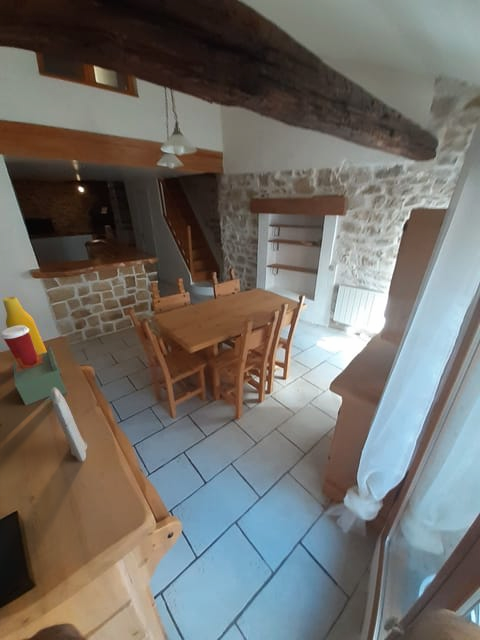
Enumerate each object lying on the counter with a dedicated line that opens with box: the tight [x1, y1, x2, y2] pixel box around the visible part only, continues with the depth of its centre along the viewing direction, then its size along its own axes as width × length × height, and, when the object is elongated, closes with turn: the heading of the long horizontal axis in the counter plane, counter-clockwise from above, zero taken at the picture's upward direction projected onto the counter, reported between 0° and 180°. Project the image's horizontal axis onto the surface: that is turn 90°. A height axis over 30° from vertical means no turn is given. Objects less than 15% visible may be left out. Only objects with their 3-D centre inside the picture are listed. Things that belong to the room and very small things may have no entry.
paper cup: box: [0, 325, 38, 367], centre depth 90 cm, size 8×8×14 cm
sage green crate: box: [13, 346, 68, 406], centre depth 94 cm, size 12×16×13 cm
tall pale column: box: [51, 387, 88, 463], centre depth 69 cm, size 11×4×22 cm, turn 40°
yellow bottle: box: [2, 296, 48, 355], centre depth 109 cm, size 9×9×29 cm
